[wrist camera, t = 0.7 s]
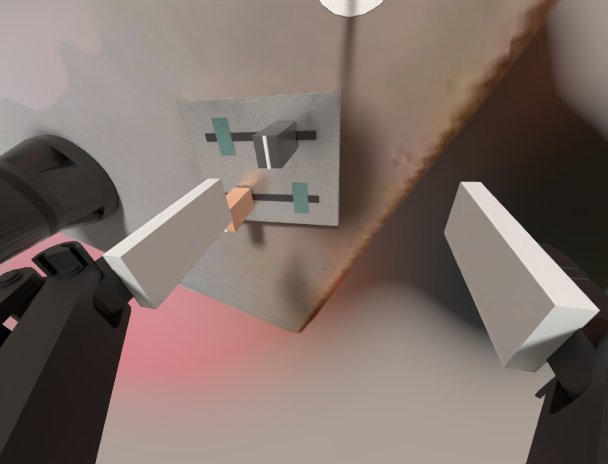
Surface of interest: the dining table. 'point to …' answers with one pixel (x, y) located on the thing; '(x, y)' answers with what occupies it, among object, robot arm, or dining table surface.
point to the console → (272, 182)
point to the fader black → (275, 145)
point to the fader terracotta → (239, 206)
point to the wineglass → (350, 6)
